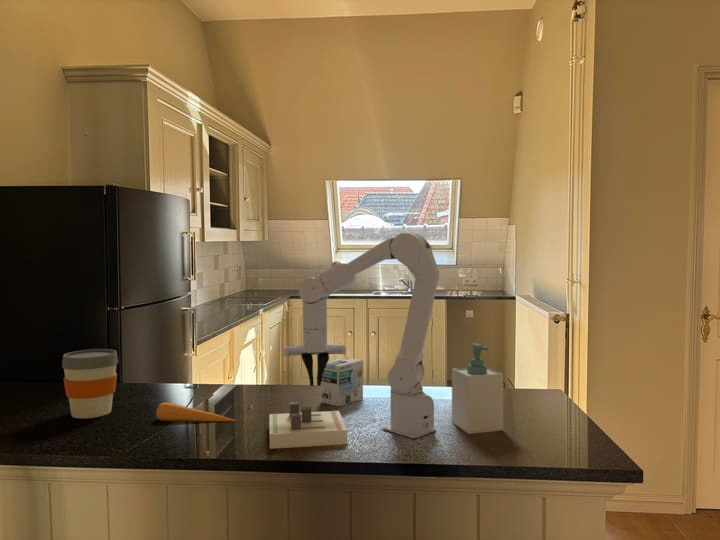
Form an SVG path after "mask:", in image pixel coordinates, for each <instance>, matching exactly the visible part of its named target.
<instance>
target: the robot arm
mask: <svg viewBox="0 0 720 540" xmlns="http://www.w3.org/2000/svg"><path fill="white" fill-rule="evenodd" d="M386 260H397V261H398V262H399V263H400V264H402V265H404V266H405V267H406V268H407V269H408V270H409V272H410V273H411V275H412V277H414V279H415V280H414V285H413V289H412V295H411V299H410V303H409V307H408V312H407V317H406V322H405V325H404V331H403V335H402V341H401V345H400V348H399V350H398V352H397V354H396V358H395V360H394V361H395V362H394V363H393V366H392V367H391V368H390V369H389V371H388V374H387V382H388V385H389V386H390V424H387V425H383V426H382V427H381V429H382V430H385V431H387V432H391V433H395V434H397V435H400V436H404V437H407V438H410V439H417V438H420V437H423V436H426V435H428V434H431V433H434V432H436V431H437V428H436V427H435V404H434V399H433V398H432V397H431V396H430V395H428V394H426V393H425V392H424V389H423V386H422V383H421V381H422V380H423V378H424V376H425V367H424V358H425V356H424V355H425V353H424V346H425V343H426V342H425V341H426V337H427V333H428V328H429V324H430V318H431V315H432V311H433V306H434V301H435V298H436V292H437V287H438V282H439V277H440V270H439V267H438V264H437V261H436V259H435V256H434V253H433V247H432V245H431V244H430V243H429V241H427V239H426V238H424V237H423V236H422V235H421V234H419V233H410V232H402V233H399V234H397V235H395V236H394V237H390V238H388V239H386V240H383V241H381V242H380V243H378V244H377V245H375V246H374V247H372V248H371V249H369V250H367V251H366V252H363V253H362V254H361V255H359V256H357V257H356V258H355V259H352V260H351V261H349V262H347V261H345V260H340V261H338V260H337V261H336V260H335V261H333V262H331V266H330V267H328V268H326V269H324V270H323V271H317V272H315V274H314V275H315V276H314V277H311V276H310V277H306V278H304V279H303V280H302V281H301V282H300V284H299V286H298V295H299V298H300V299H301V300H302V345H292V346H291V345H290V346H284V347H283V355H284V357H289V356H290V357H291V356H301V359H302V361H303V364H304V366H305V369H306V372H307V373H308V374H307V375H308V379H309V385H310V387H314V372H313V371H314V359H313V355H315V356H316V360H317V361H316V362H317V365H316V366H317V370H316V371H317V373H316V385H317V386H318V387H321V379H322V375H323V372H324V369H325V367H326V365H327V362H328V361H330V356H329V355H346V354H347V347H346V345H345V344H328V309H327V307H328V306H327V305H328V304H327V303H328V302H327V301H328V298H329V296H330V295H333V294H335V293H337V292H338V291H340V290H342V289H344V288H346V287H348V286H349V285H351V284H352V283H354V282H355V279H356V276H357V275H358V274H360V273H362V272H363V271H365V270H367V269H370V268H372V267H374V266H375V265H377V264H380V263H381V262H383V261H386Z"/></svg>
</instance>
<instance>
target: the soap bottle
mask: <svg viewBox="0 0 720 540" xmlns="http://www.w3.org/2000/svg"><path fill="white" fill-rule="evenodd" d="M470 345H471V346H472V347H473V348H472V353H473V355H474V357H472V358H471V359H470V363H469V364H467V366H466V367H465V366H464V367H453V368H452V369H451V370H452V371H451V373H452V374H451V381H452V382H451V422H452V424H453V425H455V426H457V427H458V428H459V429H461V430H462V431H464V432H465V433H466V434H467V435H472V434H473V435H474V434H483V433H492V432H500V431H501V432H502V431H504V373H503V372H500V371H497V370H495V369H492V368H490V367H488V366H487V364H485V360H484V359H483V358H481V355H482V351H483V350H484V351H488V349H489V347H488V346H487V345H483V344H480V343H478V342H470Z"/></svg>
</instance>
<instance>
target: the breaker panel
mask: <svg viewBox="0 0 720 540" xmlns="http://www.w3.org/2000/svg"><path fill="white" fill-rule="evenodd" d="M288 407H289V410H288V411H289V413H288V412H287V413H286V412H285V413H270V414H269V416H268V417H269V424H268V425H269V450H271V449H273V450H274V449H289V448H305V447H323V446H324V447H325V446H336V445H337V446H339V445H341V446H342V445H348V428H347V427H346V424H345V422H344V419H343V416H342V415H341V412H340V410H330V411H327V410H325V411H311V421H304V422H302V412H300V403H299V401H289V406H288Z"/></svg>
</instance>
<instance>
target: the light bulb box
mask: <svg viewBox="0 0 720 540" xmlns="http://www.w3.org/2000/svg"><path fill="white" fill-rule="evenodd" d="M360 399H361V400H363V399H364V360H363V359H357V358H351V357H347V356H346V357H344V356H343V357H341V358H337V359H333V360H328V362H327V365H326V367H325V369H324V372H323V375H322V379H321V386H320V403H321V402H322V404H325V403H326V404H325V405H329V404H330V406H334V405H335V407H338V406H340V407H342V406H345V405H349V404H351V402H352V403H354V401H355V402H358V401H360ZM357 400H358V401H357ZM348 403H349V404H348Z"/></svg>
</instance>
